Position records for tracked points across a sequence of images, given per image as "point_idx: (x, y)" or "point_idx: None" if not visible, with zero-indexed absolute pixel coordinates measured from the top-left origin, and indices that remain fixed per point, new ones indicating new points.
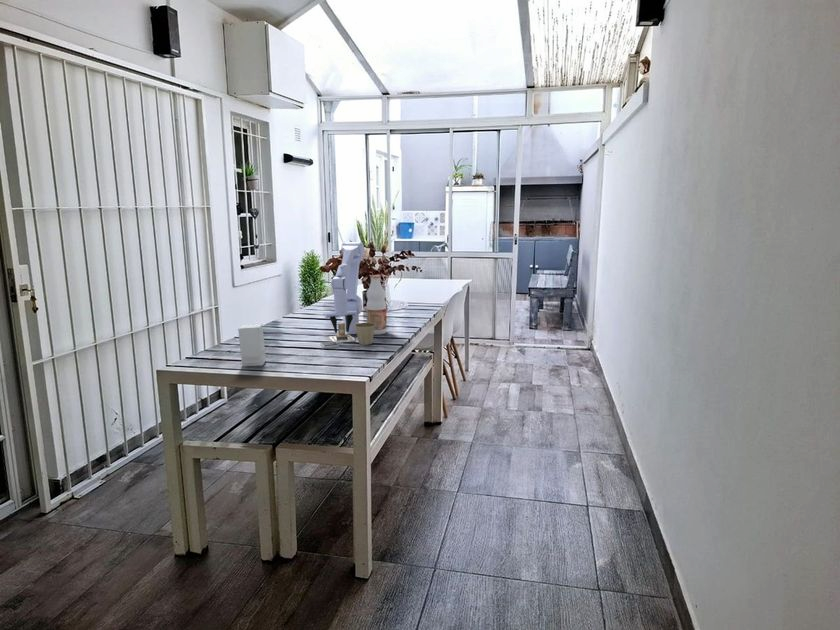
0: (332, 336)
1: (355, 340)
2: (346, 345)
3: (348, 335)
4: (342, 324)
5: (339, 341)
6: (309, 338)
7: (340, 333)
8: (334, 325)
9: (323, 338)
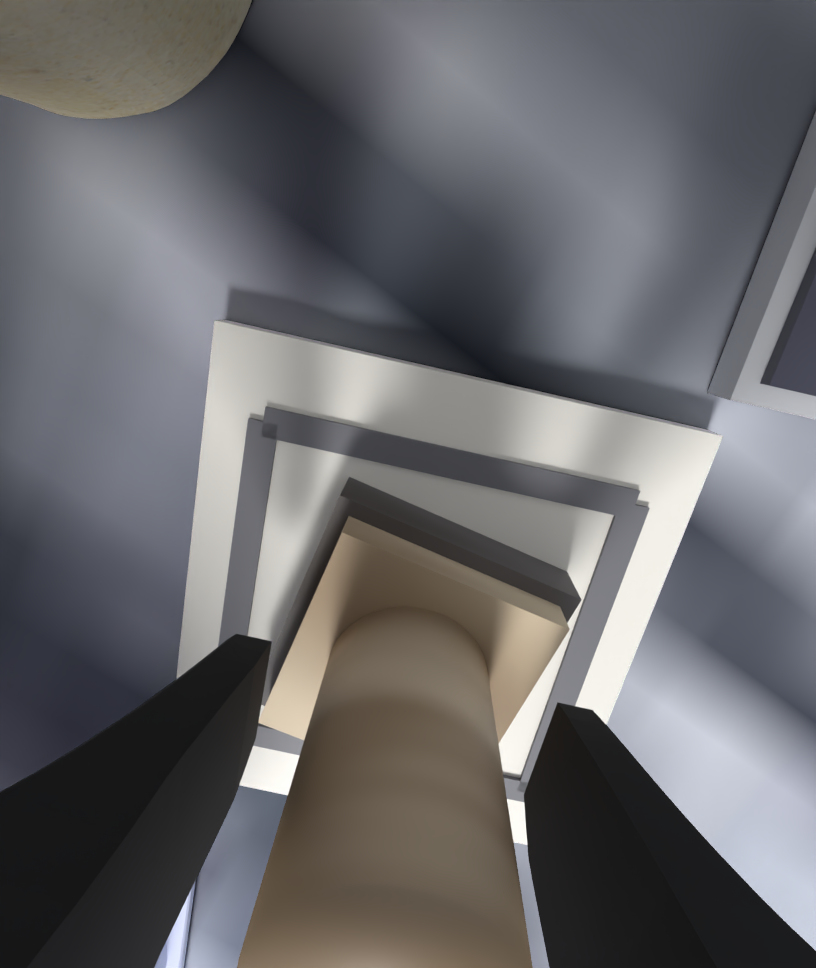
0: None
1: (222, 320)
2: (603, 36)
3: None
4: (405, 867)
5: (596, 408)
6: None
7: (470, 655)
8: (782, 927)
9: None
